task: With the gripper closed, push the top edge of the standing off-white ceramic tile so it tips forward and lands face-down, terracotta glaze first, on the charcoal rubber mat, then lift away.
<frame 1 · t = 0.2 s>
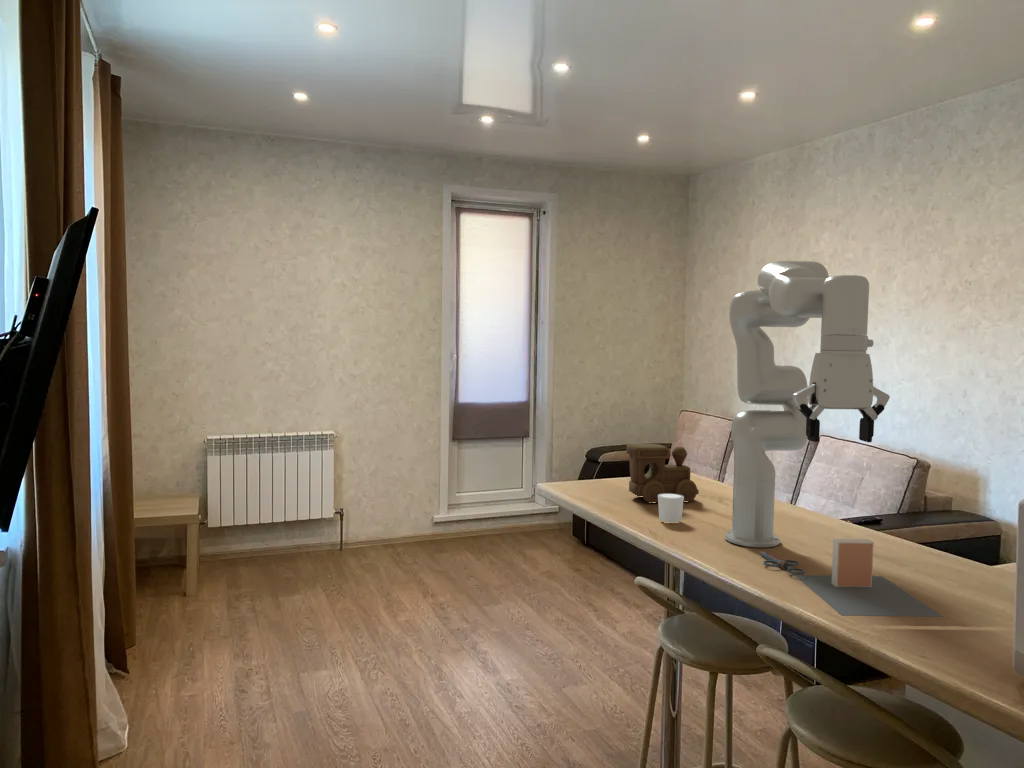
hand: (839, 441, 134), 31 cm above the table, tool pointing down, fingers open, 9 cm apart
white short tapered cylinder: (670, 522, 198), on the table
wooden toy train: (661, 500, 224), on the table
tile: (851, 585, 147), on the table, touching mat
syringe: (777, 566, 160), on the table, touching mat
mat: (863, 596, 142), on the table
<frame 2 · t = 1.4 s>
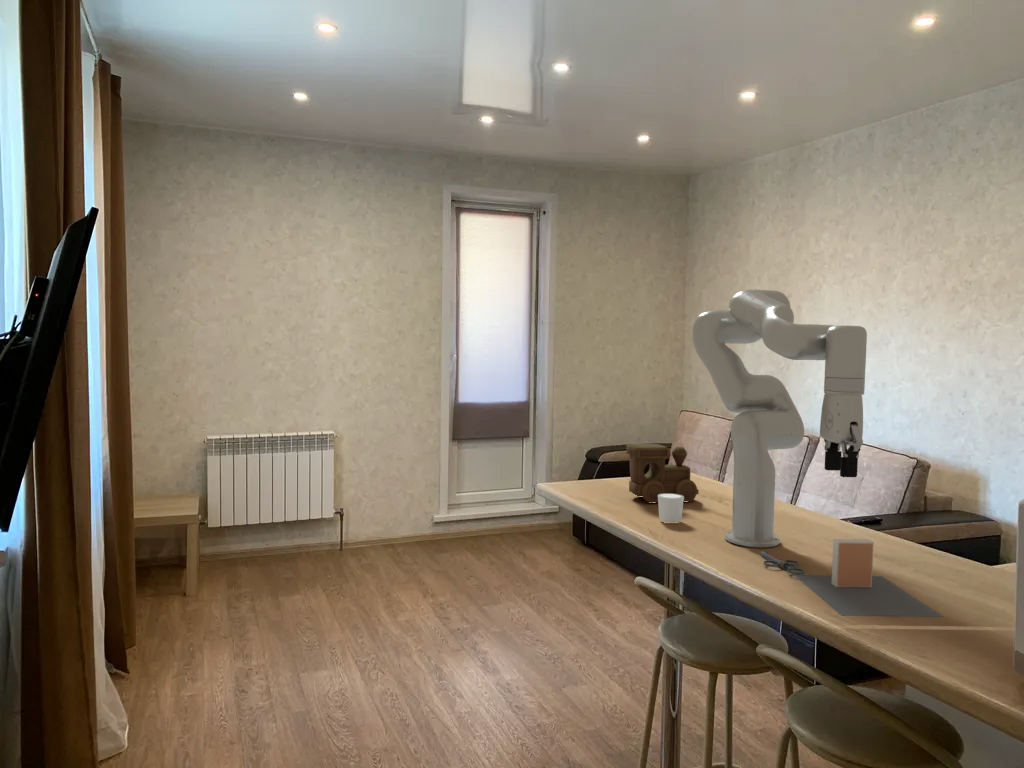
hand: (840, 472, 152), 22 cm above the table, tool pointing down, fingers open, 6 cm apart
nothing on the table moved.
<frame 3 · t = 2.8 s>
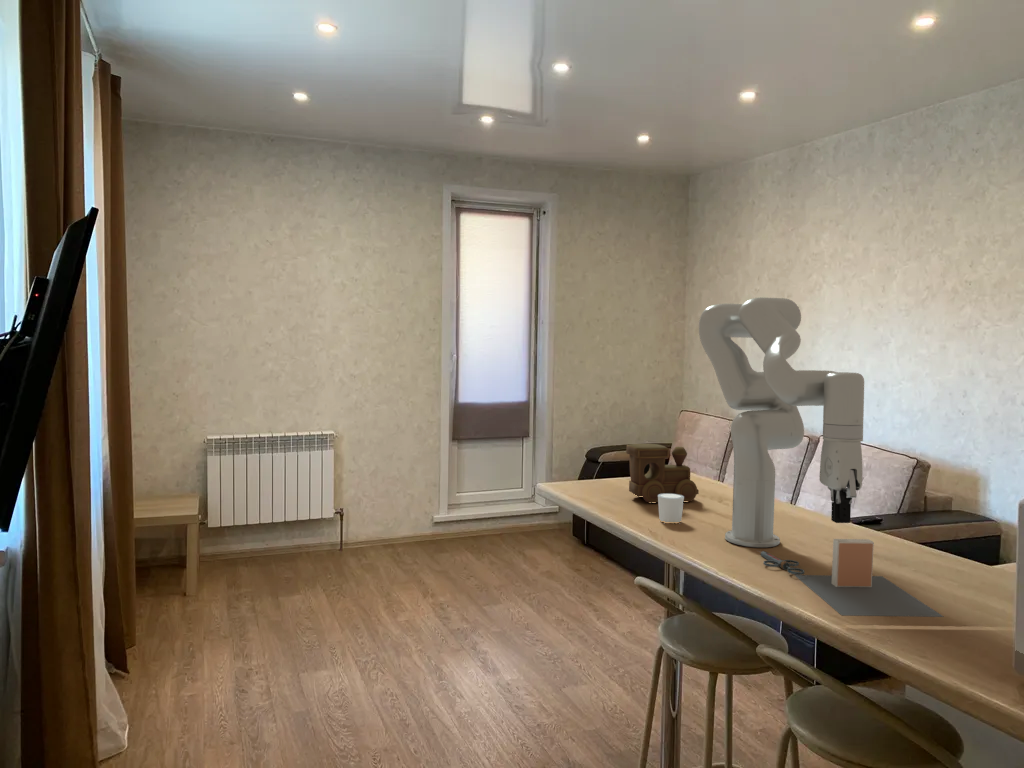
hand: (840, 521, 152), 12 cm above the table, tool pointing down, fingers closed
nothing on the table moved.
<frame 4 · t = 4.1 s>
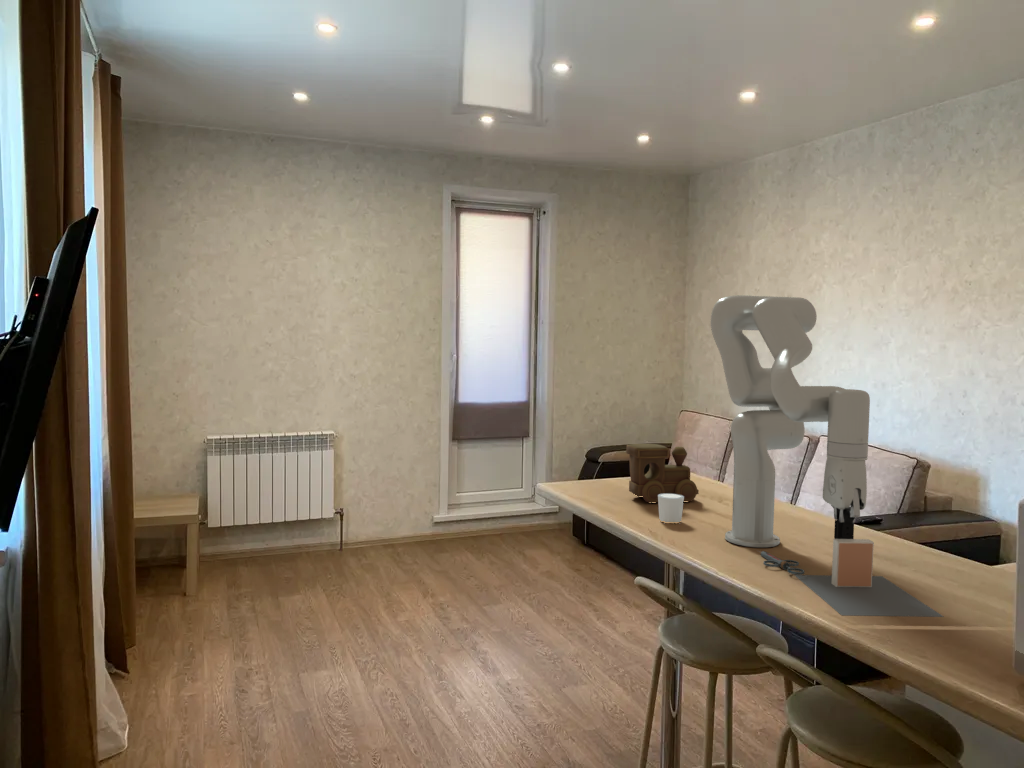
hand: (843, 540, 151), 8 cm above the table, tool pointing down, fingers closed
nothing on the table moved.
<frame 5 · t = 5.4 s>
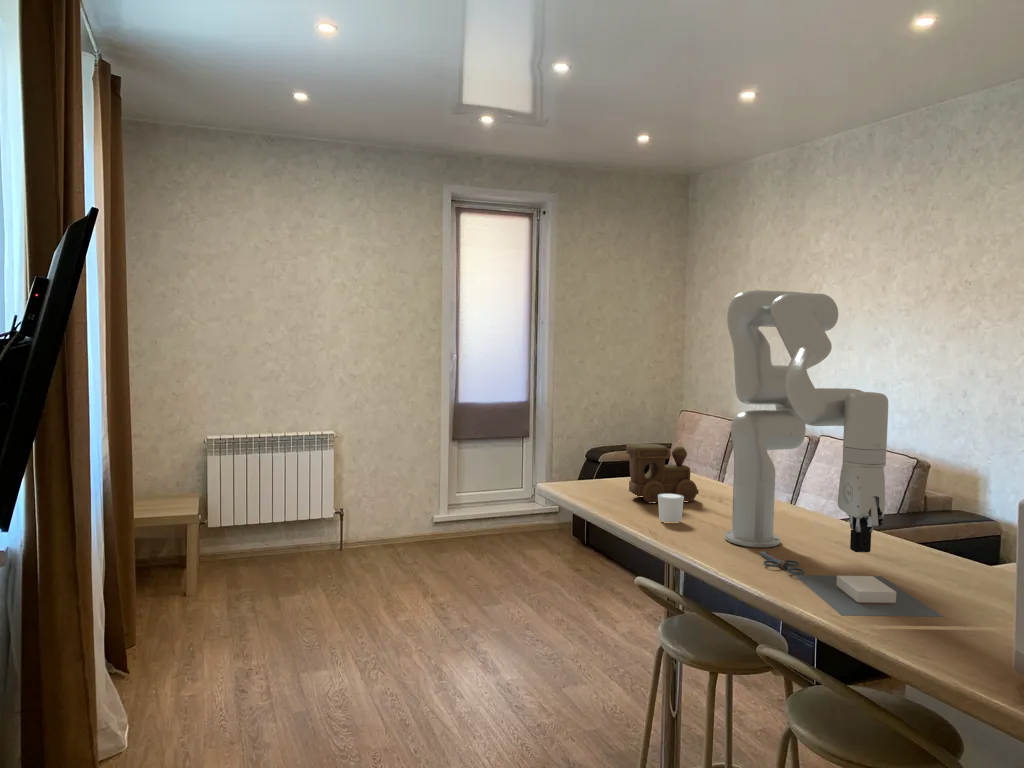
hand: (860, 550, 143), 8 cm above the table, tool pointing down, fingers closed
tile: (854, 580, 146), point 2 cm above the table, tilted 90°, touching mat
everything else where it was.
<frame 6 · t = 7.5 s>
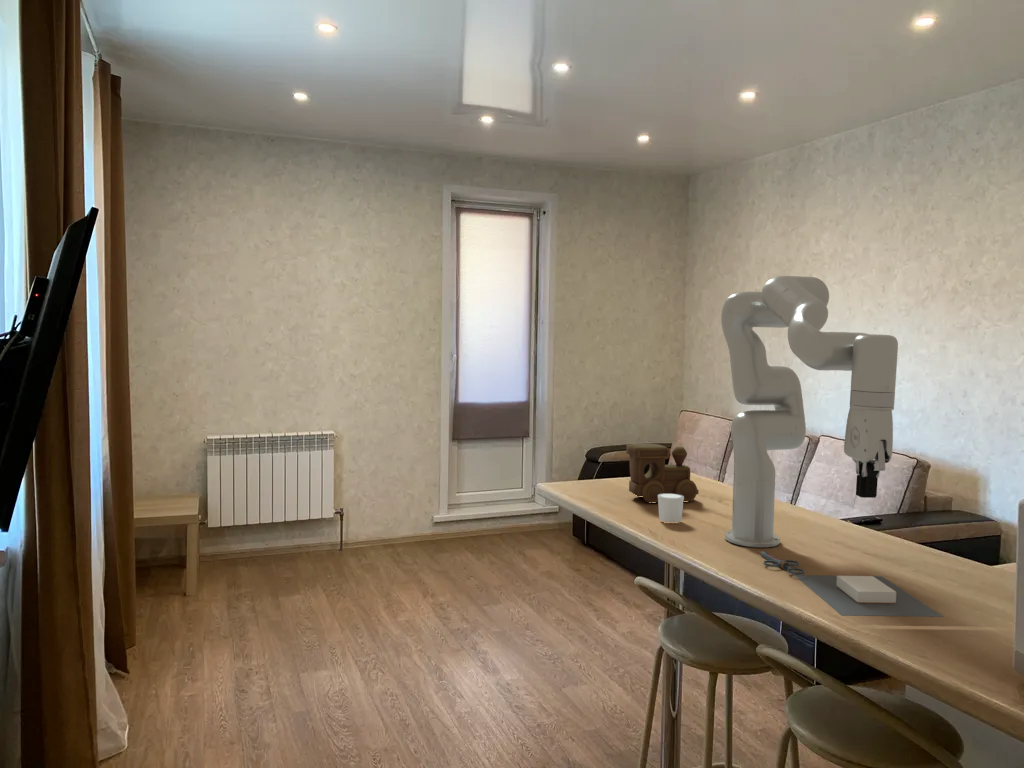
hand: (866, 496, 141), 19 cm above the table, tool pointing down, fingers closed
nothing on the table moved.
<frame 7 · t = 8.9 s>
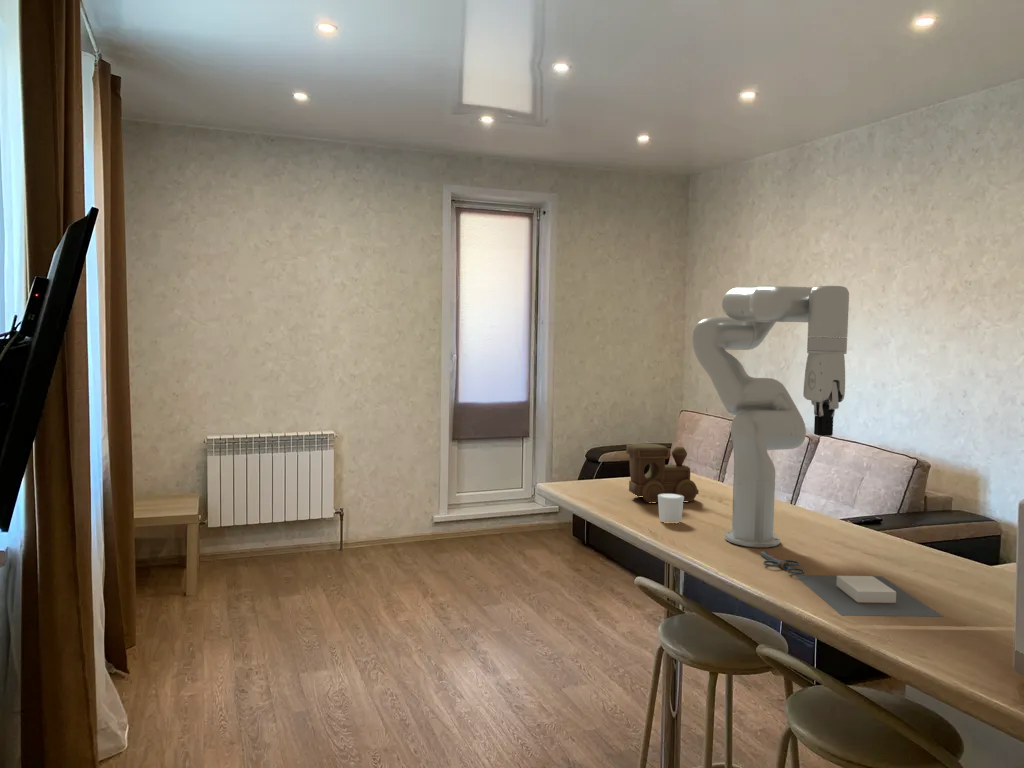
hand: (823, 435, 154), 29 cm above the table, tool pointing down, fingers closed
nothing on the table moved.
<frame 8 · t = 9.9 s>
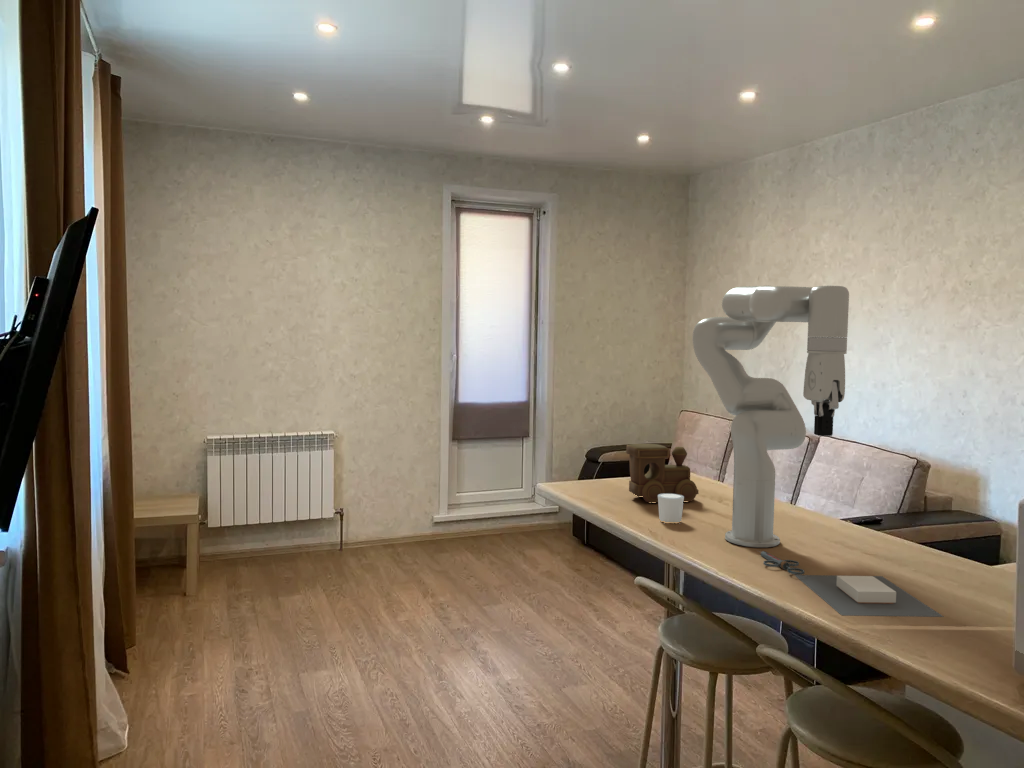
hand: (823, 435, 154), 29 cm above the table, tool pointing down, fingers closed
nothing on the table moved.
at the end: tile tilted 90°; tile inside the target area on the mat (1.3 cm from its centre), point 1.8 cm above the mat's base; tile touching mat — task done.
